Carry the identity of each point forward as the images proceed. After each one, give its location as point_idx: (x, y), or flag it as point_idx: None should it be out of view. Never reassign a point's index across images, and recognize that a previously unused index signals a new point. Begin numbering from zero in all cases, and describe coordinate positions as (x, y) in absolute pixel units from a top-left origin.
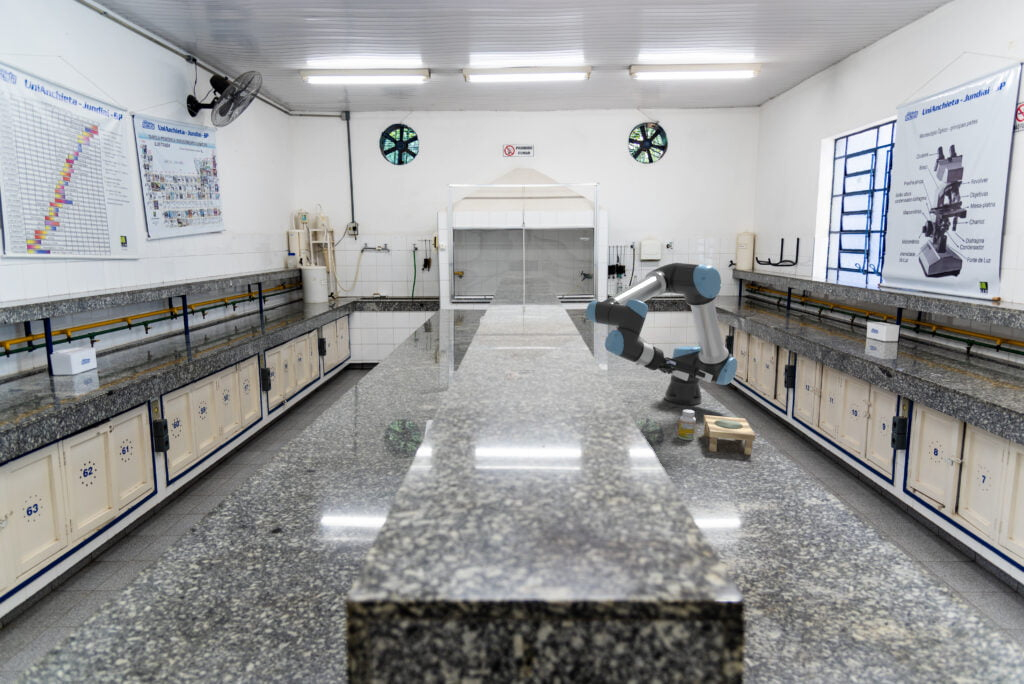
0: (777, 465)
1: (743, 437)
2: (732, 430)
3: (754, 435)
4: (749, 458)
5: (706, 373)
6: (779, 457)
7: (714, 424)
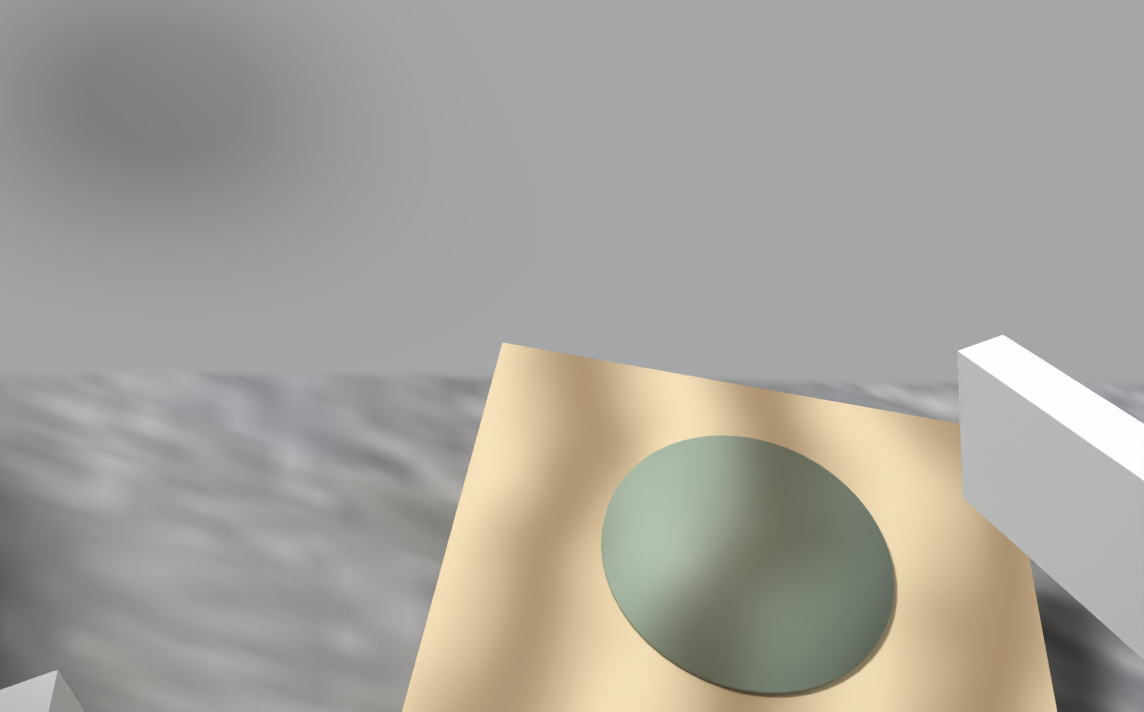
0: None
1: None
2: (944, 581)
3: None
4: None
5: (1131, 433)
6: (894, 383)
7: (787, 707)
